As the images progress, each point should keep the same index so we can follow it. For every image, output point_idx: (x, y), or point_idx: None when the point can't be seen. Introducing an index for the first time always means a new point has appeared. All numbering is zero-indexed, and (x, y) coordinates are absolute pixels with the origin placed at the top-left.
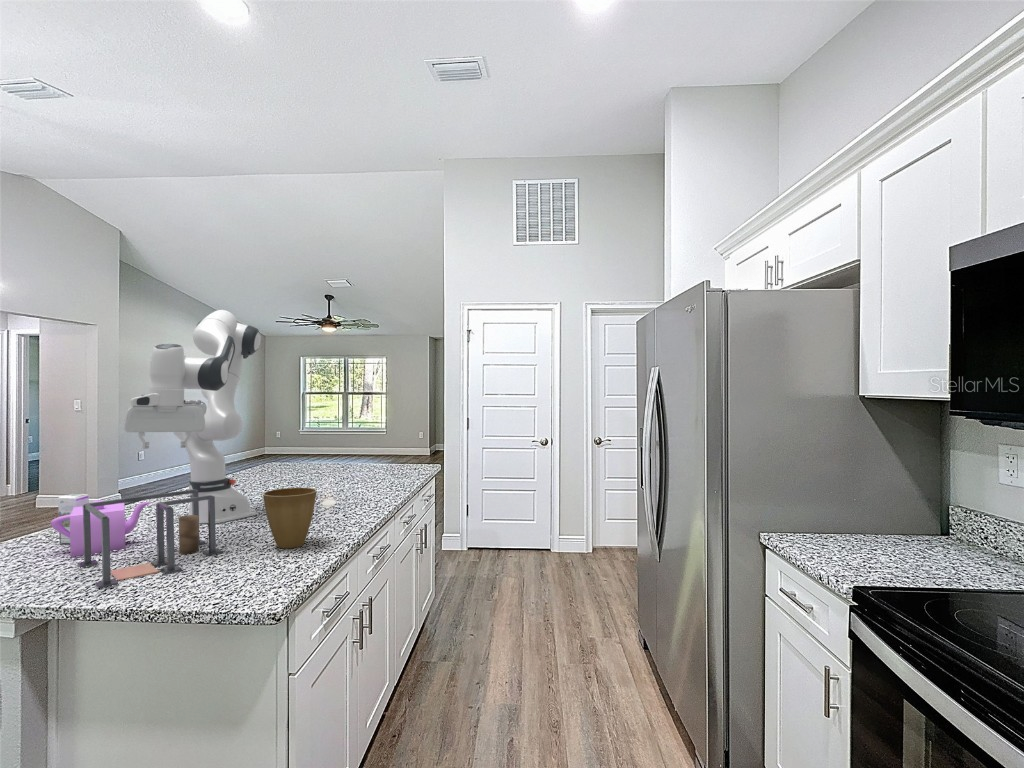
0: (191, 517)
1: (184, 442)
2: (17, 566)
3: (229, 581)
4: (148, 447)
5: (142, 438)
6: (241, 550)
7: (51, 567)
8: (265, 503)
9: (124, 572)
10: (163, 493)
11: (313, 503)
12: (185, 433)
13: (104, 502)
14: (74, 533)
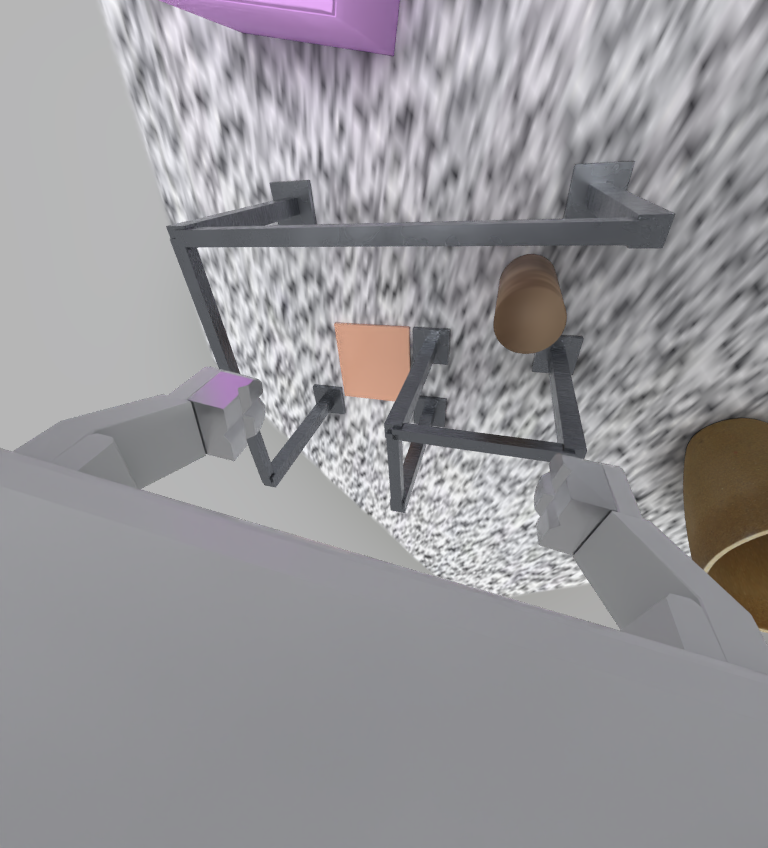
0: (530, 341)
1: (570, 546)
2: (127, 34)
3: (475, 519)
4: (258, 427)
5: (150, 479)
6: (619, 386)
7: (218, 147)
8: (702, 534)
9: (358, 360)
10: (464, 231)
11: None
12: (657, 633)
13: (231, 245)
14: (197, 12)
